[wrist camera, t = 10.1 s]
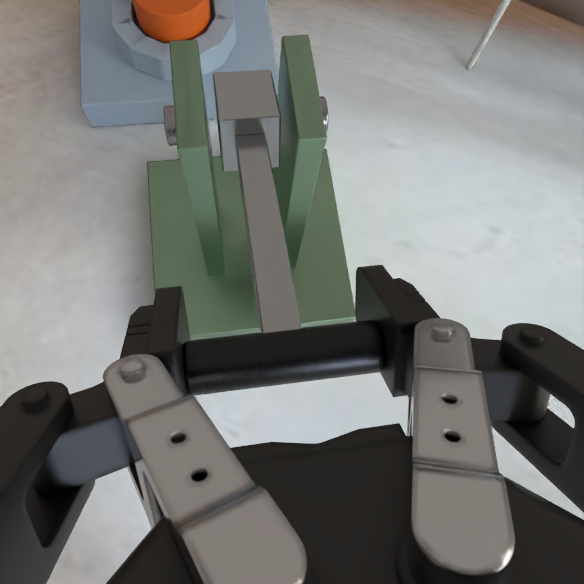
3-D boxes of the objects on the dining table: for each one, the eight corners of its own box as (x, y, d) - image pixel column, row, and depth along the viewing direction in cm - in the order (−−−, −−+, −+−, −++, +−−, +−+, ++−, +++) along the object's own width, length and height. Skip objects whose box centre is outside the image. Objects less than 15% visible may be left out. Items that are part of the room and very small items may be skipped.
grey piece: (261, -3, 36) (262, -56, 33) (278, 115, 33) (282, 72, 30) (88, 4, 35) (69, -51, 31) (91, 127, 32) (70, 84, 28)
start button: (207, -15, 32) (204, -45, 30) (213, 42, 30) (211, 14, 28) (135, -12, 31) (127, -43, 29) (138, 45, 30) (130, 17, 28)
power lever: (376, 387, 14) (393, 348, 13) (193, 411, 14) (180, 373, 12) (306, 119, 21) (310, 66, 19) (180, 128, 21) (171, 74, 19)
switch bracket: (352, 322, 30) (433, 219, 16) (160, 344, 28) (83, 251, 15) (323, 158, 33) (372, -38, 20) (150, 171, 31) (78, -29, 18)
